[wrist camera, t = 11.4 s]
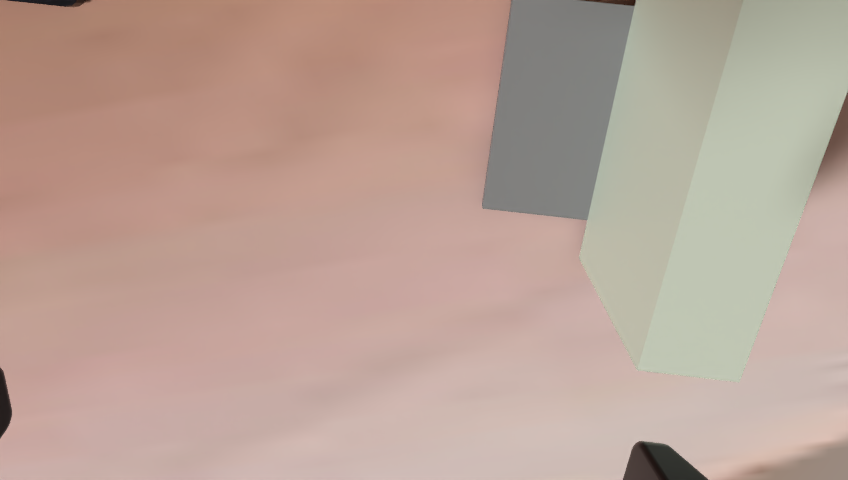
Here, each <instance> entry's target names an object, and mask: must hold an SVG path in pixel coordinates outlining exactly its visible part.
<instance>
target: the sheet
mask: <svg viewBox="0 0 848 480" xmlns="http://www.w3.org/2000/svg"><path fill="white" fill-rule="evenodd" d="M847 92H848V0H636V2H635V7H634V11H633V16H632V20H631V25H630V29H629V34H628V39H627V43H626V48H625V52H624V57H623V61H622V66H621V70H620V75H619V79H618V84H617V88H616V93H615V97H614V102H613V106H612V111H611V115H610V120H609V124H608V129H607V133H606V138H605V143H604V147H603V152H602V156H601V161H600V165H599V170H598V174H597V179H596V183H595V188H594V192H593V197H592V201H591V206H590V210H589V215H588V219H587V224H586V228H585V233H584V237H583V242H582V246H581V251H580V256H579V259H580V261H581V263H582V265H583V267H584V269H585V271H586V272H587V274H588V276H589V278H590V280H591V282H592V284H593V286H594V288H595V290H596V292H597V294H598V296H599V298H600V300H601V302H602V303H603V305H604V307H605V309H606V311H607V313H608V315H609V317H610V319H611V321H612V323H613V325H614V327H615V329H616V331H617V333H618V334H619V336H620V338H621V340H622V342H623V344H624V346H625V348H626V350H627V352H628V354H629V356H630V358H631V360H632V362H633V364H634V365H635V367H636V369H637V370H638V371H646V372H655V373H664V374H672V375H681V376H689V377H698V378H706V379H715V380H723V381H732V382H740V379H741V377H742V374H743V371H744V369H745V366H746V363H747V361H748V358H749V355H750V352H751V350H752V347H753V344H754V342H755V339H756V336H757V334H758V331H759V328H760V326H761V323H762V320H763V318H764V315H765V312H766V309H767V307H768V304H769V301H770V299H771V296H772V293H773V291H774V288H775V285H776V283H777V280H778V277H779V275H780V272H781V269H782V267H783V264H784V261H785V258H786V256H787V253H788V250H789V248H790V245H791V242H792V240H793V237H794V234H795V232H796V229H797V226H798V224H799V221H800V218H801V215H802V213H803V210H804V207H805V205H806V202H807V199H808V197H809V194H810V191H811V189H812V186H813V183H814V181H815V178H816V175H817V172H818V170H819V167H820V164H821V162H822V159H823V156H824V154H825V151H826V148H827V146H828V143H829V140H830V138H831V135H832V132H833V130H834V127H835V124H836V121H837V119H838V116H839V113H840V111H841V108H842V105H843V103H844V100H845V97H846V95H847Z"/></svg>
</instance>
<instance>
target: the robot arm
mask: <svg viewBox="0 0 848 480" xmlns="http://www.w3.org/2000/svg"><path fill="white" fill-rule="evenodd" d="M9 1H18V2H28V3H37V4H46V5H56V6H65V7H77V6H80V5H82V4H83V3H84V1H85V0H9ZM11 417H12V408H11V403H10V399H9V394H8V389H7V385H6V380H5V376H4V372H3V370H2V369H1V368H0V438H1V437H2V435H3V434H4V432H5V431H6V429H7V428H8V426H9V424H10V421H11ZM623 480H708V479H707V478H706V477H705V476H704V475H702V474H701V473H700V472H699V471H698V470H697V469H695V468H694V467H693V466H692V465H691V464H690V463H688V462H687V461H686V460H685V459H684V458H683V457H681V456H680V455H679V454H678V453H677V452H676V451H674V450H673V449H672V448H671V447H669V446H668V445H666V444H662V443H653V442H645V441H639V442H637V443H636V444H635V445H634V446H633V449H632V451H631V454H630V458H629V461H628V464H627V468H626V471H625V474H624V478H623Z"/></svg>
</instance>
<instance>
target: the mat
mask: <svg viewBox="0 0 848 480" xmlns="http://www.w3.org/2000/svg"><path fill="white" fill-rule="evenodd" d="M634 7H635V6H629V5H619V4H609V3H600V2H590V1H581V0H512V1H511V8H510V15H509V22H508V29H507V35H506V42H505V49H504V56H503V63H502V70H501V77H500V84H499V91H498V98H497V105H496V112H495V119H494V126H493V133H492V140H491V147H490V154H489V161H488V168H487V175H486V181H485V188H484V195H483V202H482V206H483V209H492V210H501V211H510V212H519V213H528V214H537V215H546V216H555V217H564V218H573V219H581V220H587V219H588V215H589V210H590V206H591V201H592V197H593V192H594V188H595V183H596V179H597V174H598V170H599V165H600V161H601V156H602V152H603V147H604V143H605V138H606V133H607V129H608V124H609V120H610V115H611V111H612V106H613V102H614V97H615V93H616V88H617V84H618V79H619V75H620V70H621V66H622V61H623V57H624V52H625V48H626V43H627V39H628V34H629V29H630V25H631V20H632V16H633V11H634Z"/></svg>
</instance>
